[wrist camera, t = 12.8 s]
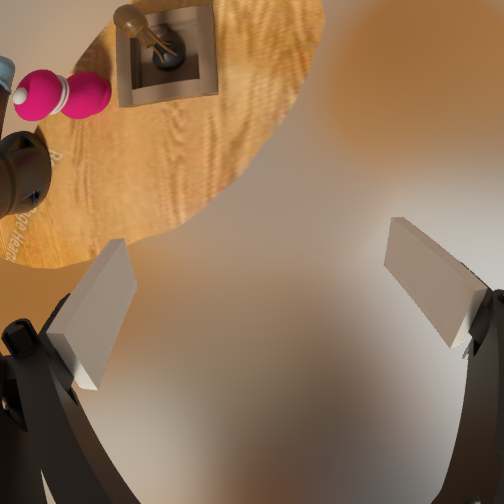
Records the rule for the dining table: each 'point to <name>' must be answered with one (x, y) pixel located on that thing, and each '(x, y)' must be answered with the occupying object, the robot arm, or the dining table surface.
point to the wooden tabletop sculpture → (149, 38)
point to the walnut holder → (176, 81)
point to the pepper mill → (60, 95)
